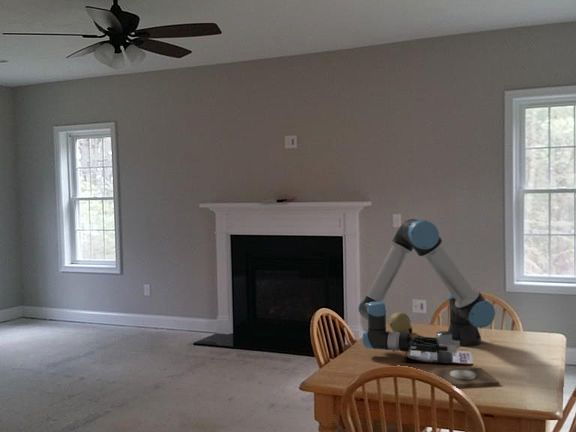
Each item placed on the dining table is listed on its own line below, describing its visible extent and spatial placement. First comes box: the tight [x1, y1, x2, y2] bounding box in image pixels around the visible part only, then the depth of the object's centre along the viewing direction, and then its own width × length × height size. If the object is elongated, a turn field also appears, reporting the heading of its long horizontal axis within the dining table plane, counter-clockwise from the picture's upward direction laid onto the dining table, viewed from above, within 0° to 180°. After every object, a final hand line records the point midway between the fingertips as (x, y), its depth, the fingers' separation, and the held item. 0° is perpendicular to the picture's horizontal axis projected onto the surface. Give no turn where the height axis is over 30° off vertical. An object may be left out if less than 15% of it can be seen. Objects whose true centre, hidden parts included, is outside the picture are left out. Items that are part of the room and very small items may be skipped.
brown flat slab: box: [428, 367, 500, 389], centre depth 201 cm, size 20×16×2 cm
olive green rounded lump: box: [387, 311, 413, 335], centre depth 268 cm, size 10×12×11 cm
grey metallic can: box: [436, 330, 454, 364], centre depth 219 cm, size 6×6×11 cm
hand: (457, 346), depth 217 cm, fingers closed on grey metallic can, 6 cm apart
